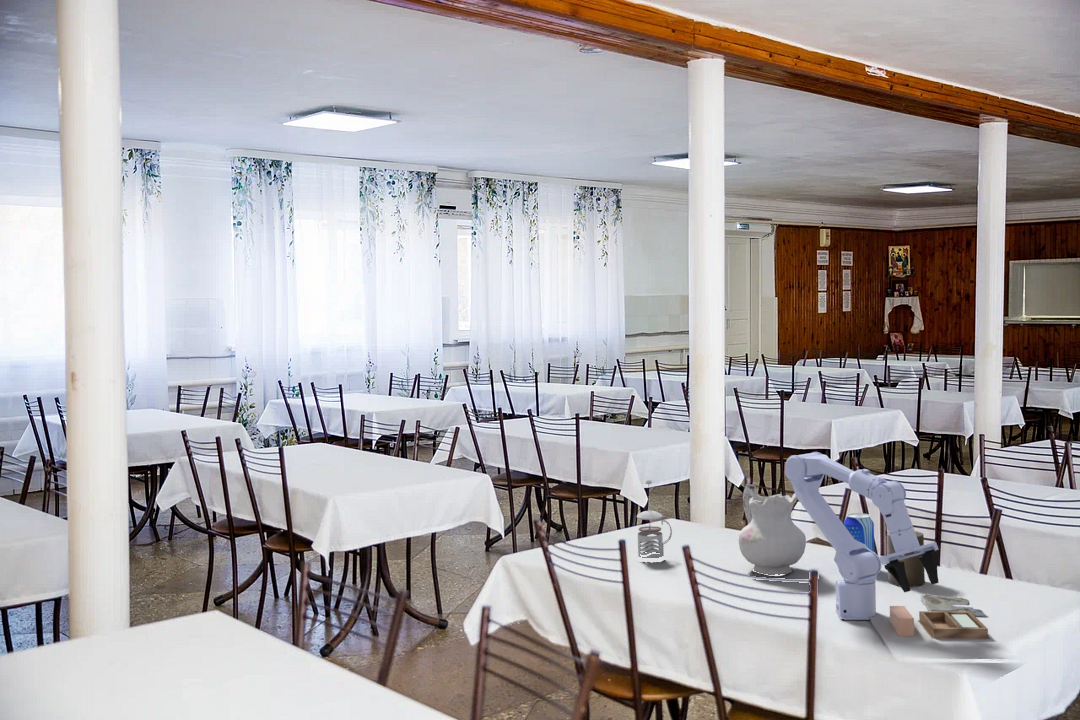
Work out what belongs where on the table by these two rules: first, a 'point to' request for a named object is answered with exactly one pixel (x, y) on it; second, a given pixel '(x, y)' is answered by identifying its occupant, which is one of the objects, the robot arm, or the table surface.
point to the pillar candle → (909, 563)
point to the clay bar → (902, 621)
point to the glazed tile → (964, 621)
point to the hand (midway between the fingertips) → (921, 587)
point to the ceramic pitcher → (770, 533)
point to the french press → (649, 530)
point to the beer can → (861, 528)
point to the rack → (950, 625)
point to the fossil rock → (948, 604)
